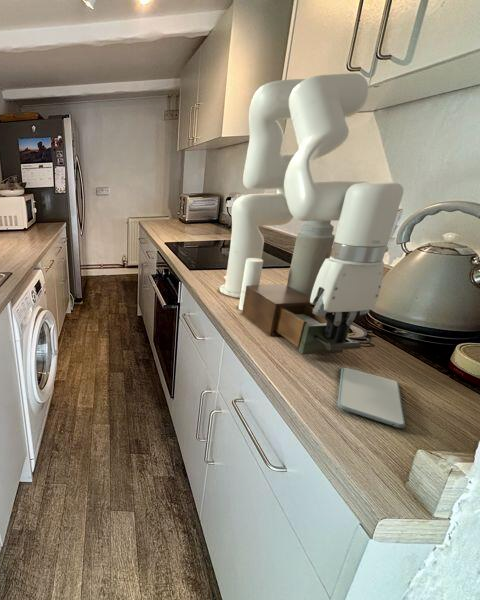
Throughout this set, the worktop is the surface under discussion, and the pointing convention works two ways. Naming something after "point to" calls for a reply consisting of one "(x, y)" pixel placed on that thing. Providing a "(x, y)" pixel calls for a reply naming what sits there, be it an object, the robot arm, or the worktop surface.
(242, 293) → the tube
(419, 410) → the worktop surface
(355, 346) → the drawer
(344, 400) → the smartphone
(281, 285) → the cabinet
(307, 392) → the worktop surface
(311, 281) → the thermos bottle
